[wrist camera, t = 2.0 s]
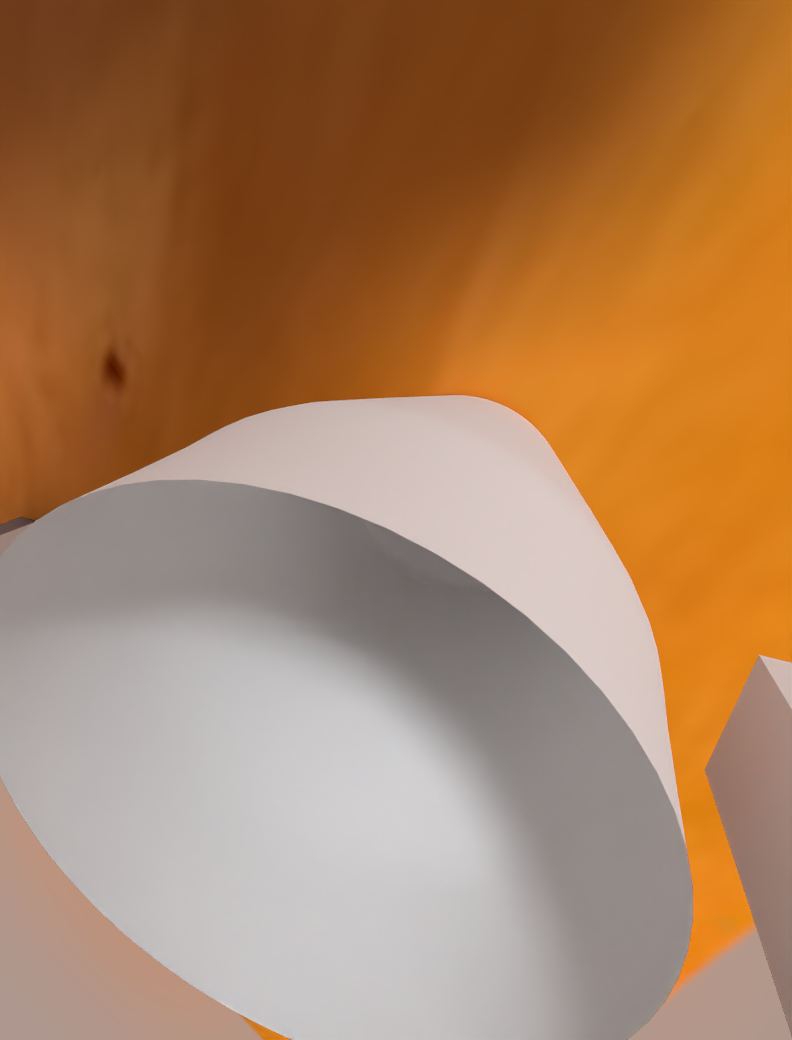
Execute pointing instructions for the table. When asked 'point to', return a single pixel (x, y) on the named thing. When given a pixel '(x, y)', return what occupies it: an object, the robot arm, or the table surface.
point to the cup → (355, 727)
